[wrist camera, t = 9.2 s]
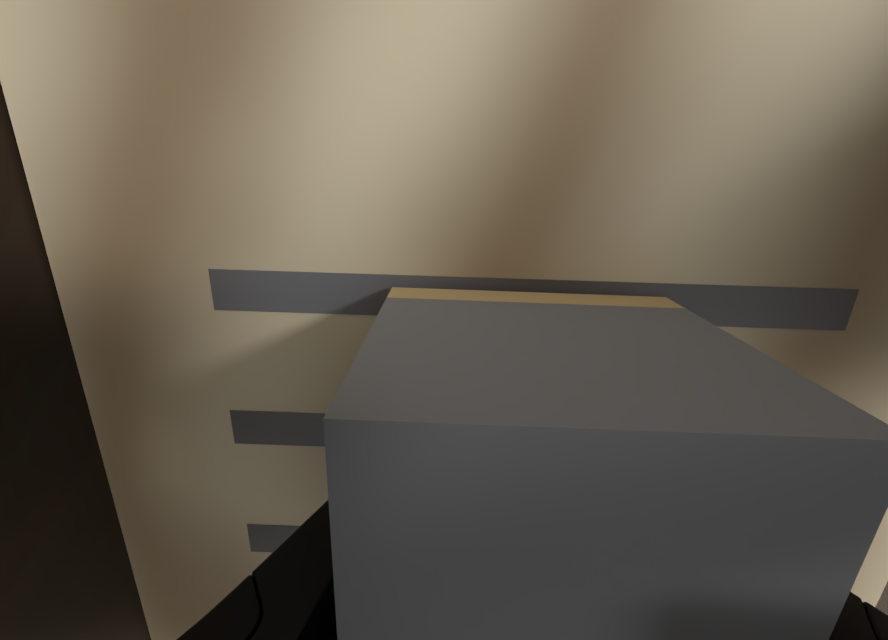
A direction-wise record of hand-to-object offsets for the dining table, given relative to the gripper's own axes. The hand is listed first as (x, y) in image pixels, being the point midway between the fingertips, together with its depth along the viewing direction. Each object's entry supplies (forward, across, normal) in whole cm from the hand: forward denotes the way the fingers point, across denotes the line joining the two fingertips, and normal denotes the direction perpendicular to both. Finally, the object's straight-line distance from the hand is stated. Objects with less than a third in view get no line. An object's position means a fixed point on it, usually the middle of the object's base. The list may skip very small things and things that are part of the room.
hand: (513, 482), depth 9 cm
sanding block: (0, 0, 0) cm, 0 cm away
